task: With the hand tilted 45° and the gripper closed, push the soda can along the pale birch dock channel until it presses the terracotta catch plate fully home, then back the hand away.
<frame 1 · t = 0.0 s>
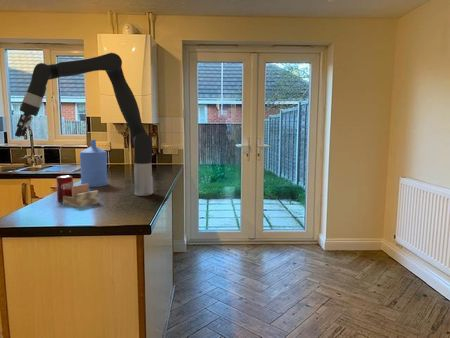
hand: (19, 136, 155), 31 cm above the counter, tool tilted 20°, fingers open, 8 cm apart
soda can: (65, 201, 161), on the counter
catch plate: (80, 194, 155), point 5 cm above the counter, slide at 0.0 cm
birch dock: (80, 203, 156), on the counter
water jug: (94, 185, 204), on the counter
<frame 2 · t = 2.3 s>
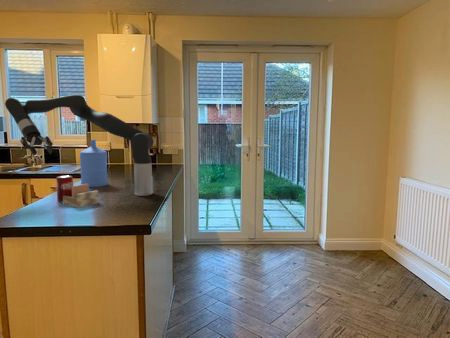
hand: (43, 153, 166), 23 cm above the counter, tool tilted 45°, fingers open, 7 cm apart
nothing on the counter moved.
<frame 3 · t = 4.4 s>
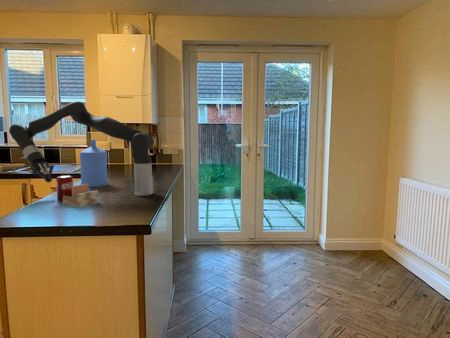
hand: (49, 181, 166), 9 cm above the counter, tool tilted 45°, fingers closed
nothing on the counter moved.
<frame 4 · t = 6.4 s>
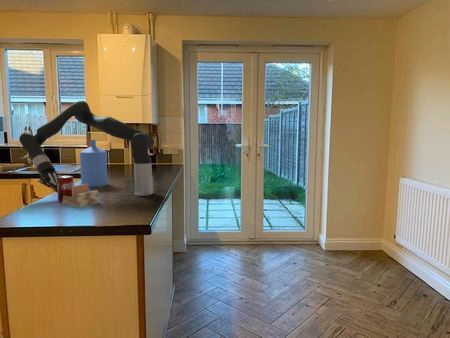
hand: (59, 192, 162), 4 cm above the counter, tool tilted 45°, fingers closed
soda can: (66, 201, 161), on the counter, touching gripper
everything else where it was.
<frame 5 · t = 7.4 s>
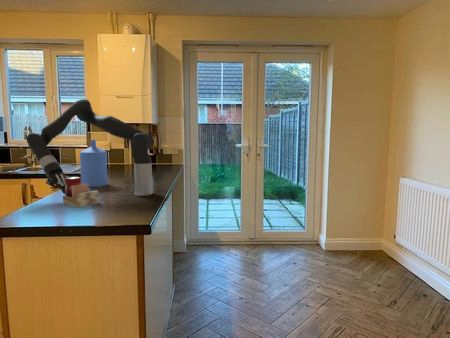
hand: (67, 193, 159), 4 cm above the counter, tool tilted 45°, fingers closed
soda can: (74, 202, 158), on the counter, touching gripper
everything else where it was.
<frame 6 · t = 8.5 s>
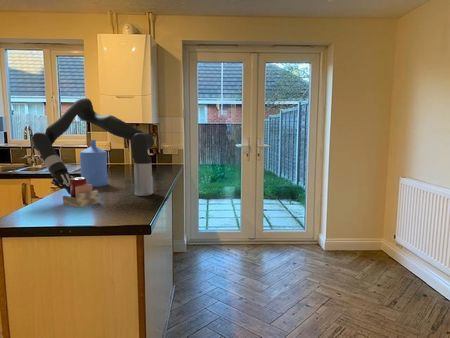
hand: (72, 193, 158), 4 cm above the counter, tool tilted 45°, fingers closed
soda can: (79, 203, 157), on the counter, touching catch plate, gripper
catch plate: (84, 194, 154), point 5 cm above the counter, slide at 2.6 cm, touching soda can
everything else where it was.
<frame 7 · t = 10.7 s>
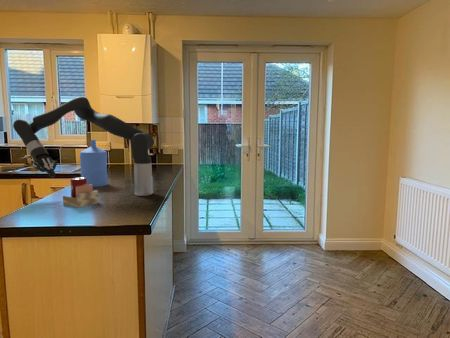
hand: (53, 176, 165), 11 cm above the counter, tool tilted 45°, fingers closed
soda can: (79, 203, 157), on the counter
catch plate: (84, 194, 154), point 5 cm above the counter, slide at 2.8 cm
everything else where it was.
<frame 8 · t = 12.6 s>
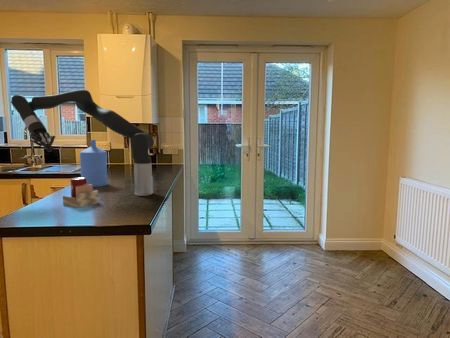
hand: (50, 150, 166), 24 cm above the counter, tool tilted 45°, fingers closed
nothing on the counter moved.
at the end: catch plate slide at 2.8 cm; soda can 0.5 cm from the target spot, on the counter; soda can tilted 0° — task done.
